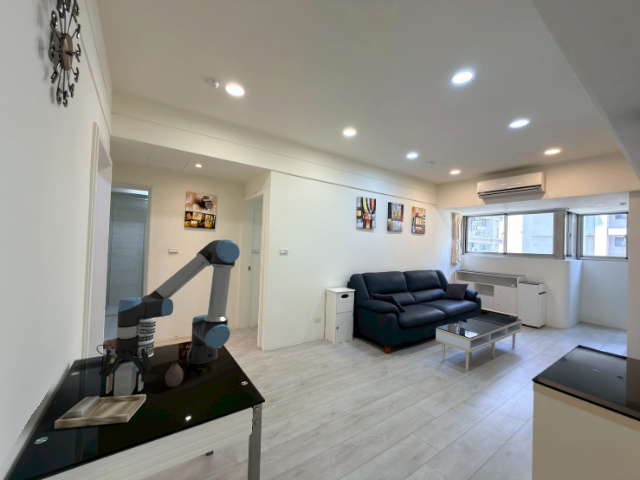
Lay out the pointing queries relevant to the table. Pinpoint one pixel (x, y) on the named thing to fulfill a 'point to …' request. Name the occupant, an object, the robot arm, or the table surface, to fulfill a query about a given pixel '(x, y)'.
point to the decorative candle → (146, 335)
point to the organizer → (101, 411)
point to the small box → (125, 379)
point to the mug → (108, 345)
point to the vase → (174, 375)
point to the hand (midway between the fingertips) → (124, 390)
